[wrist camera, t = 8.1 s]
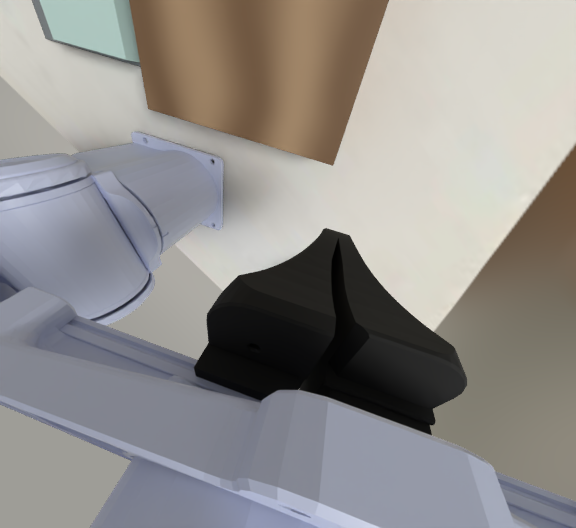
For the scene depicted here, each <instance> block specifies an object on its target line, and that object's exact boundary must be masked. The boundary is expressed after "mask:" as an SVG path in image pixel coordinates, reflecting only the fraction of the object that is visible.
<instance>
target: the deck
mask: <svg viewBox="0 0 576 528" xmlns="http://www.w3.org/2000/svg"><path fill="white" fill-rule="evenodd" d="M388 1H389V0H129V3H130V9H131V14H132V20H133V26H134V31H135V37H136V43H137V48H138V54H139V60H140V65H141V71H142V77H143V82H144V88H145V94H146V99H147V105H148V109H150V110H153V111H157V112H160V113H163V114H167V115H170V116H173V117H176V118H180V119H183V120H186V121H189V122H193V123H196V124H199V125H202V126H206V127H209V128H212V129H215V130H219V131H222V132H225V133H228V134H232V135H235V136H238V137H242V138H245V139H248V140H251V141H255V142H258V143H261V144H264V145H268V146H271V147H274V148H277V149H281V150H284V151H287V152H290V153H294V154H297V155H300V156H303V157H307V158H310V159H313V160H317V161H320V162H323V163H326V164H330V165H333V164H334V161H335V158H336V156H337V153H338V150H339V147H340V144H341V141H342V138H343V135H344V132H345V129H346V126H347V123H348V120H349V117H350V114H351V111H352V108H353V105H354V102H355V99H356V96H357V93H358V90H359V87H360V84H361V81H362V78H363V75H364V72H365V69H366V67H367V64H368V61H369V58H370V55H371V52H372V49H373V46H374V43H375V40H376V37H377V34H378V31H379V28H380V25H381V22H382V19H383V16H384V13H385V10H386V7H387V4H388Z"/></svg>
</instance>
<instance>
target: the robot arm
mask: <svg viewBox="0 0 576 528" xmlns="http://www.w3.org/2000/svg"><path fill="white" fill-rule="evenodd" d="M131 136H132V140H133V143H130V144H125V145H119V146H113V147H108V148H102V149H96V150H91V151H85V152H79V153H76V154H73V155H71V156H70V155H68V154H65V153H57V154H45V155H34V156H26V157H17V158H10V159H2V160H0V405H2V406H5V407H7V408H10V409H12V410H14V411H17V412H19V413H21V414H24V415H26V416H28V417H31V418H33V419H35V420H38V421H40V422H42V423H45V424H47V425H49V426H52V427H54V428H56V429H59V430H61V431H64V432H66V433H68V434H71V435H73V436H75V437H77V438H80V439H82V440H84V441H87V442H89V443H92V444H93V445H96V446H98V447H100V448H103V449H105V450H107V451H110V452H112V453H115V454H117V455H119V456H122V457H124V458H126V459H129V460H131V463H130V464H129V466H128V467H127V469H126V471H125V472H124V474H123V475H122V477H121V479H120V480H119V482H118V484H117V485H116V487H115V488H114V490H113V491H112V493H111V495H110V496H109V498H108V499H107V501H106V503H105V504H104V506H103V507H102V509H101V510H100V512H99V514H98V515H97V517H96V518H95V520H94V521H93V523H92V525H91V526H90V528H576V501H574V500H571V499H568V498H566V497H563V496H560V495H558V494H555V493H552V492H550V491H547V490H544V489H541V488H539V487H536V486H534V485H531V484H528V483H525V482H523V481H520V480H518V479H515V478H512V477H509V476H507V475H504V474H502V473H499V472H496V471H494V468H493V466H492V465H490V464H489V463H488V462H487V461H485V460H484V459H483V458H482V457H480V456H478V455H476V454H474V453H472V452H470V451H468V450H466V449H465V448H463V447H461V446H459V445H456V444H453V443H450V442H448V441H445V440H442V439H440V438H437V437H434V436H432V434H431V430H430V425H434V424H435V417H434V413H433V408H435V407H437V406H439V405H441V404H443V403H445V402H447V401H450V400H451V399H454V398H455V397H457V396H458V395H460V394H461V393H462V392H463V391H464V389H465V387H466V386H467V378H466V375H465V372H464V370H463V368H462V365H461V363H460V360H459V358H458V355H457V353H456V350H455V348H454V347H453V346H452V345H451V344H449V343H448V342H447V341H445V340H444V339H442V338H441V337H440V336H438V335H437V334H436V333H434V332H433V331H432V330H430V329H429V328H427V327H426V326H425V325H424V324H422V323H421V322H420V321H419V320H417V319H416V318H415V317H414V316H413V315H411V314H410V313H409V312H408V311H407V310H406V309H405V308H403V307H402V306H401V305H400V304H399V303H398V302H397V301H396V300H395V299H394V298H393V297H392V296H391V295H390V294H389V293H388V292H387V291H386V290H385V289H384V287H383V286H382V285H381V284H380V283H379V281H378V280H377V279H376V278H375V277H374V275H373V274H372V273H371V271H370V270H369V268H368V267H367V265H366V264H365V262H364V261H363V259H362V257H361V256H360V254H359V252H358V250H357V249H356V247H355V245H354V243H353V241H352V239H351V237H350V235H347V234H343V233H340V232H337V231H334V230H330V229H327V228H325V229H323V231H322V233H321V234H320V236H319V237H318V238H317V239H316V240H315V241H314V242H313V243H312V244H311V245H310V246H308V247H307V248H306V249H305V250H303V251H302V252H301V253H299V254H298V255H296V256H294V257H293V258H291V259H289V260H287V261H285V262H283V263H281V264H279V265H276V266H274V267H271V268H268V269H265V270H262V271H258V272H253V273H248V274H244V275H239V276H238V277H237V278H236V279H235V280H234V281H232V282H231V283H230V285H229V286H228V287H227V288H226V289H225V290H224V291H223V292H222V293H221V295H220V296H219V297H218V299H217V301H216V302H215V303H214V305H213V306H212V308H211V309H210V311H209V312H208V313H207V330H208V341H209V343H208V345H207V347H206V348H205V350H204V352H203V353H202V355H201V357H200V358H199V360H196V359H193V358H191V357H188V356H185V355H183V354H180V353H177V352H174V351H172V350H169V349H167V348H164V347H161V346H158V345H156V344H153V343H150V342H147V341H145V340H142V339H140V338H137V337H134V336H132V335H129V334H126V333H123V332H121V331H118V330H116V329H113V328H110V327H108V326H106V325H109V324H111V323H114V322H116V321H118V320H120V319H122V318H124V317H125V316H127V315H128V314H130V313H131V312H133V311H134V310H135V309H137V308H138V307H139V306H140V305H141V304H142V303H143V302H144V301H145V300H146V298H147V297H148V296H149V295H150V293H151V292H152V290H153V288H154V285H155V278H154V276H153V274H152V272H153V271H154V270H156V269H157V268H158V267H159V266H160V265H162V263H161V260H160V255H161V254H162V253H163V252H165V251H166V250H167V249H168V248H170V247H171V246H172V245H174V244H175V243H176V242H177V241H179V240H180V239H181V238H183V237H184V236H185V235H186V234H188V233H189V232H190V231H192V230H193V229H194V228H195V227H197V226H198V225H199V224H201V225H204V226H207V227H210V228H213V229H216V230H220V229H221V228H222V227H223V168H224V164H223V160H222V159H221V158H220V157H217V156H214V155H211V154H208V153H205V152H202V151H198V150H195V149H192V148H189V147H186V146H182V145H179V144H176V143H173V142H170V141H167V140H163V139H160V138H157V137H154V136H151V135H147V134H144V133H141V132H138V131H134V132H132V134H131ZM146 139H147V141H148V142H147V141H146ZM212 159H213V160H214V162H215V163H213V162H212ZM213 223H214V224H215V225H214V224H213ZM299 388H300V389H299Z"/></svg>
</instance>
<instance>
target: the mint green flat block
mask: <svg viewBox="0 0 576 528" xmlns="http://www.w3.org/2000/svg"><path fill="white" fill-rule="evenodd" d="M40 3H41V6H42V9H43V12H44V14H45V17H46V20H47V23H48V26H49V28H50V31H51V34H52V37H53V39H54V40H58V41H62V42H65V43H69V44H72V45H76V46H79V47H83V48H86V49H90V50H93V51H97V52H100V53H104V54H107V55H111V56H114V57H118V58H121V59H125V60H129V61H134V62H139V63H140V60H139V54H138V48H137V43H136V37H135V31H134V26H133V20H132V14H131V9H130V3H129V0H40Z"/></svg>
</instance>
